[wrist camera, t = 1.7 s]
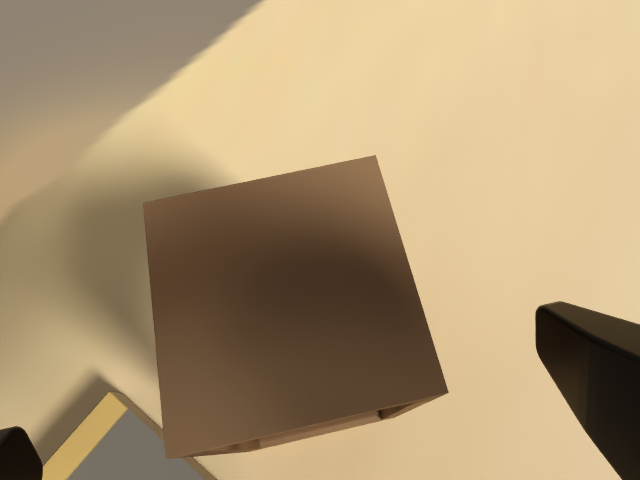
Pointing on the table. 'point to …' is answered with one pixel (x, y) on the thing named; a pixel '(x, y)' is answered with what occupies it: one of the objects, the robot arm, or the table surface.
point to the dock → (119, 448)
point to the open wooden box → (284, 311)
